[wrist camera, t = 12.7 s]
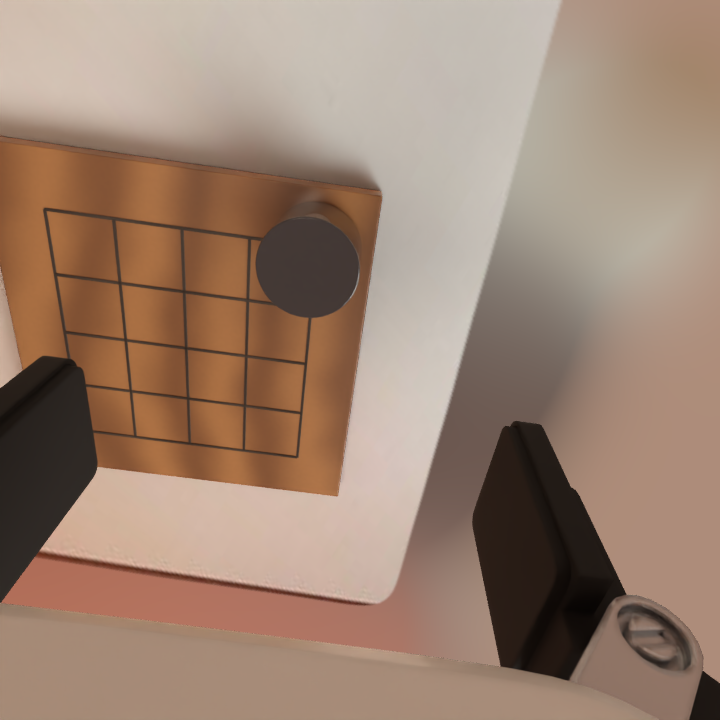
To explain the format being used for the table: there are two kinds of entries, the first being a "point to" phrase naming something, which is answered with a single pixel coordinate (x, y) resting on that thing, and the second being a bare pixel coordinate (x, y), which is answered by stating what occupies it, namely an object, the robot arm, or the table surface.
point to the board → (180, 312)
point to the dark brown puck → (310, 260)
